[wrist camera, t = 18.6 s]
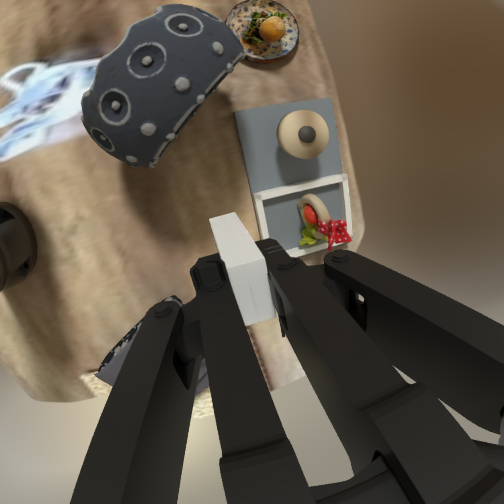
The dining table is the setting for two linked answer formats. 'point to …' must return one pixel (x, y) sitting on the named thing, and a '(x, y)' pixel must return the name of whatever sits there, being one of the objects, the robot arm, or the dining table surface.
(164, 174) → the dining table surface
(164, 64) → the dotted grey bowl
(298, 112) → the wheel
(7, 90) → the dining table surface
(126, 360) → the robot arm
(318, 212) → the bird rattle
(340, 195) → the board
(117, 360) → the toy tank
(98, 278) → the dining table surface
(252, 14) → the burger
